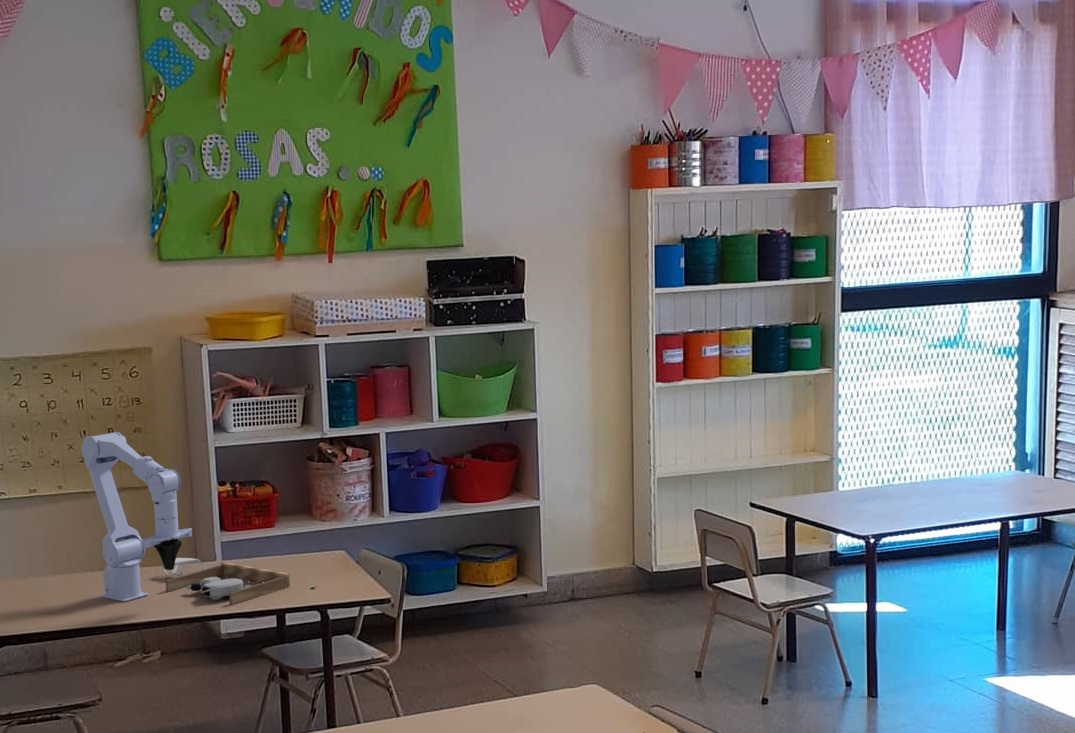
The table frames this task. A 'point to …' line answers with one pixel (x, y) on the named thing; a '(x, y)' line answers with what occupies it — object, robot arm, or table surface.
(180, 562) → the origami figure
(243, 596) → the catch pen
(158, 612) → the table surface
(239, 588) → the robot toy
